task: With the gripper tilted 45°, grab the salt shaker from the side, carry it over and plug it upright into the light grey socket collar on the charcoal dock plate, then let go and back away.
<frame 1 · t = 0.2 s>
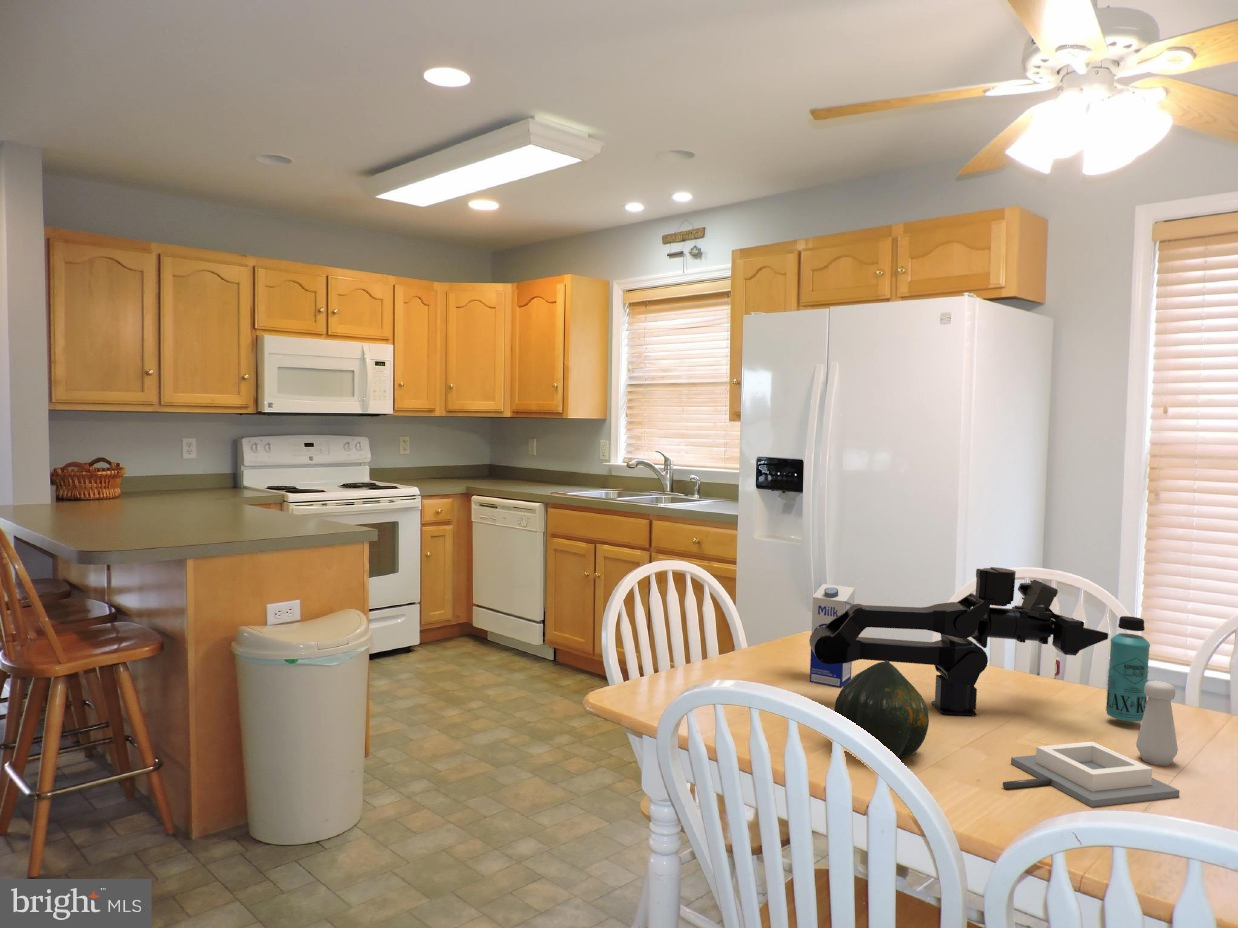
hand: (1095, 630, 159), 17 cm above the table, tool horizontal, fingers open, 9 cm apart
salt shaker: (1155, 762, 139), on the table
beverage bottle: (1125, 725, 157), on the table
dock: (1091, 779, 130), on the table
squash: (879, 750, 140), on the table
milk carton: (830, 681, 178), on the table
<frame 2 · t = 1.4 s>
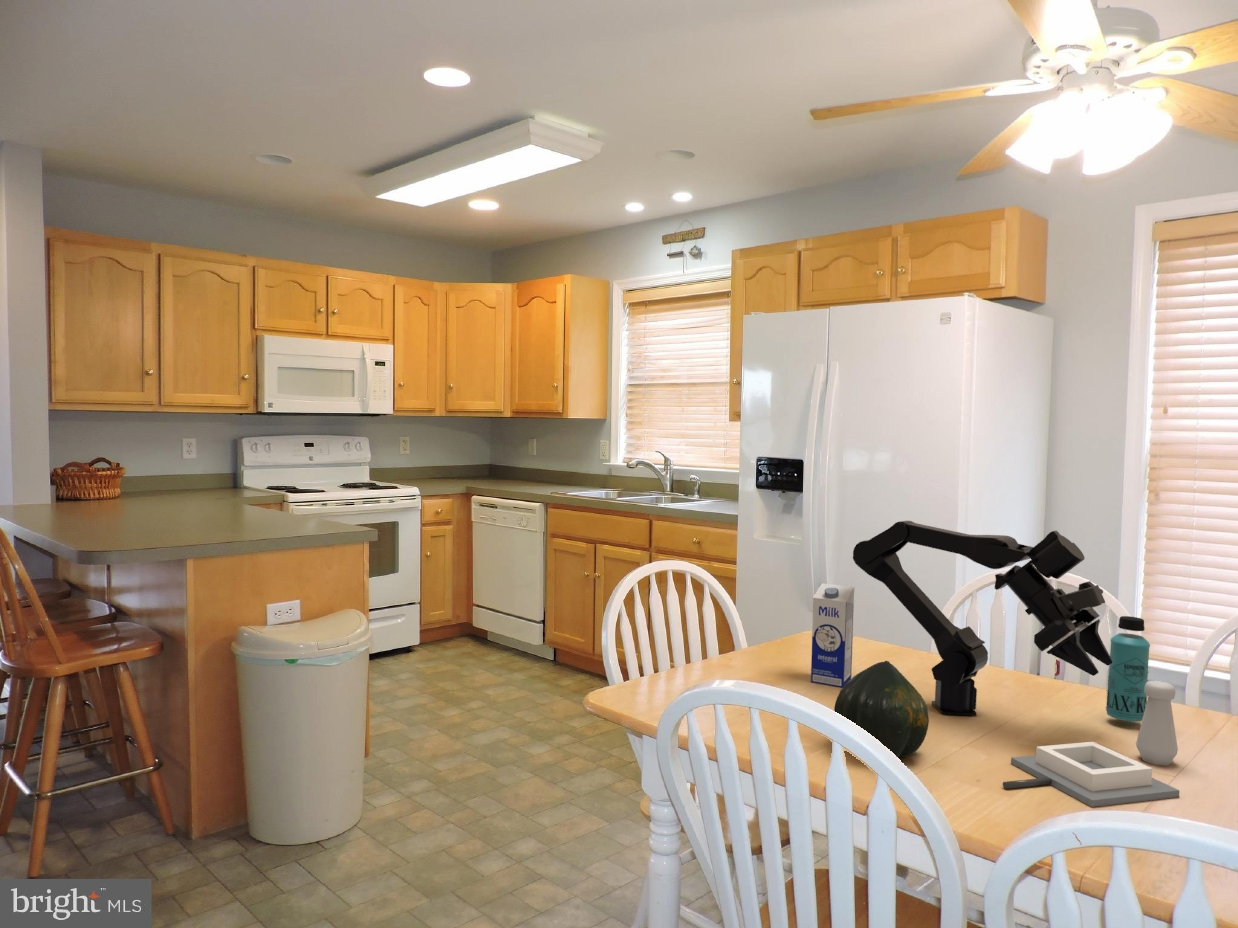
hand: (1103, 668, 144), 13 cm above the table, tool tilted 45°, fingers open, 9 cm apart
nothing on the table moved.
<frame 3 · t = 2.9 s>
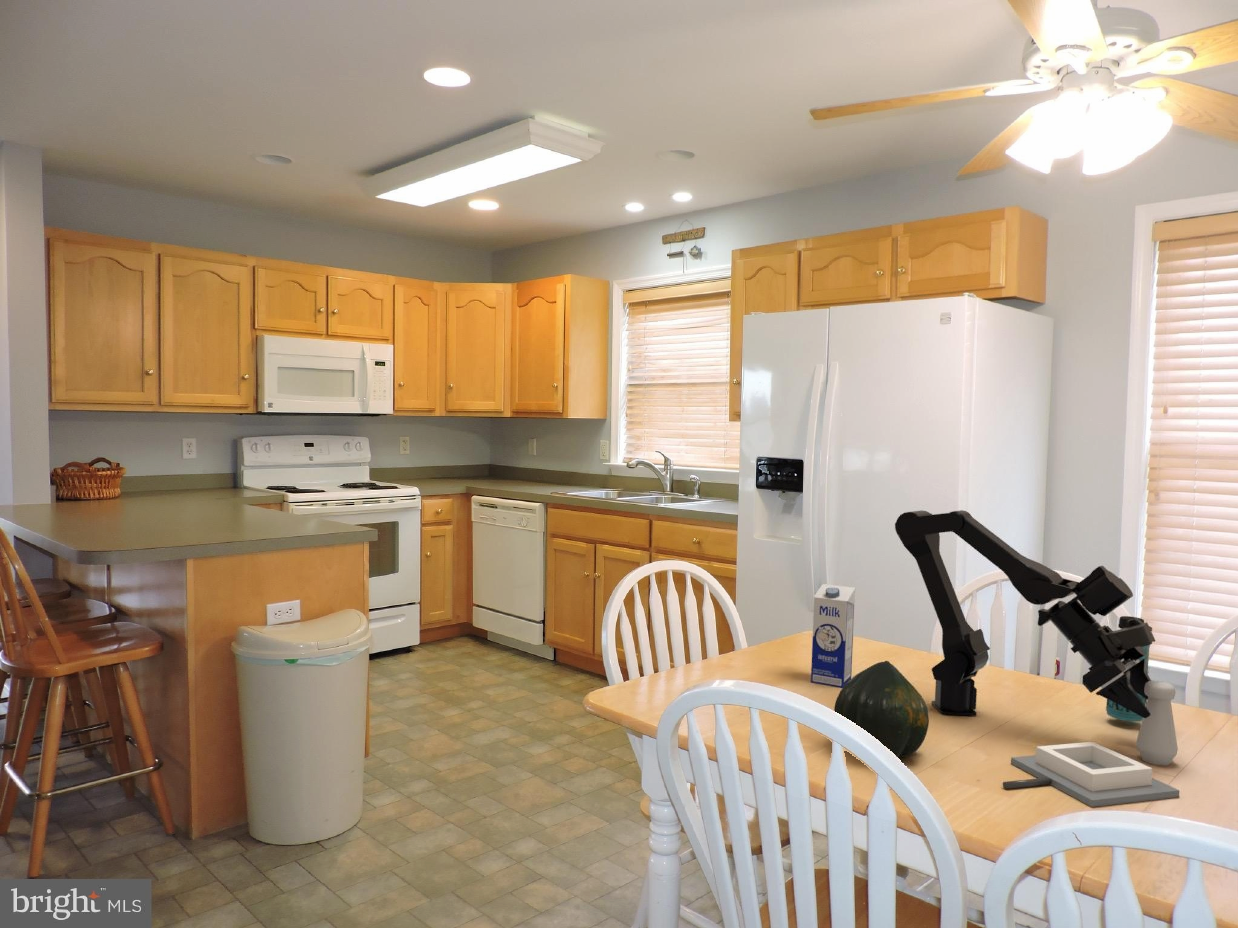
hand: (1154, 710, 139), 8 cm above the table, tool tilted 45°, fingers open, 9 cm apart
nothing on the table moved.
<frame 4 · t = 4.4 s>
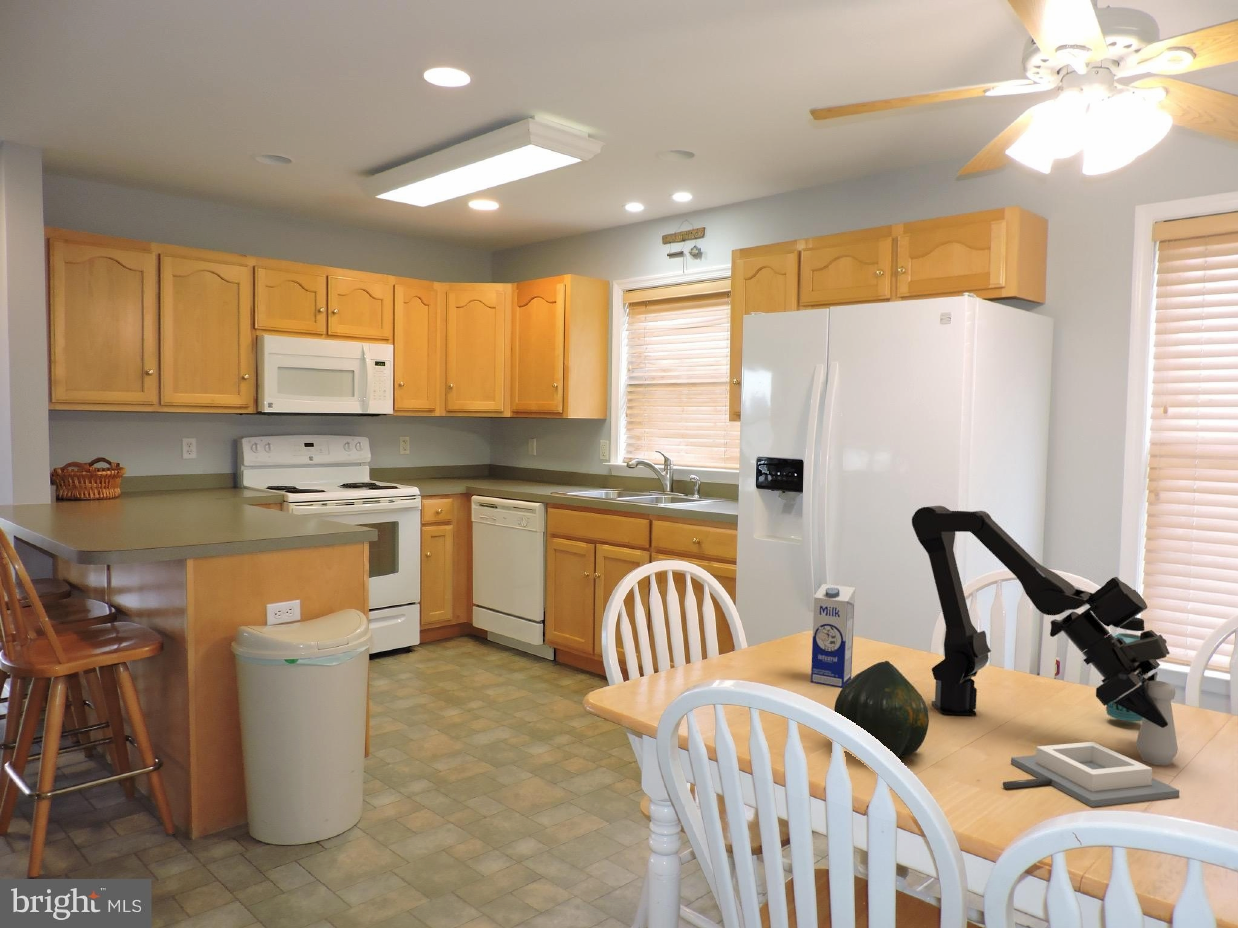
hand: (1168, 723, 138), 7 cm above the table, tool tilted 45°, fingers closed on salt shaker, 3 cm apart
salt shaker: (1155, 761, 139), on the table, touching gripper
everything else where it was.
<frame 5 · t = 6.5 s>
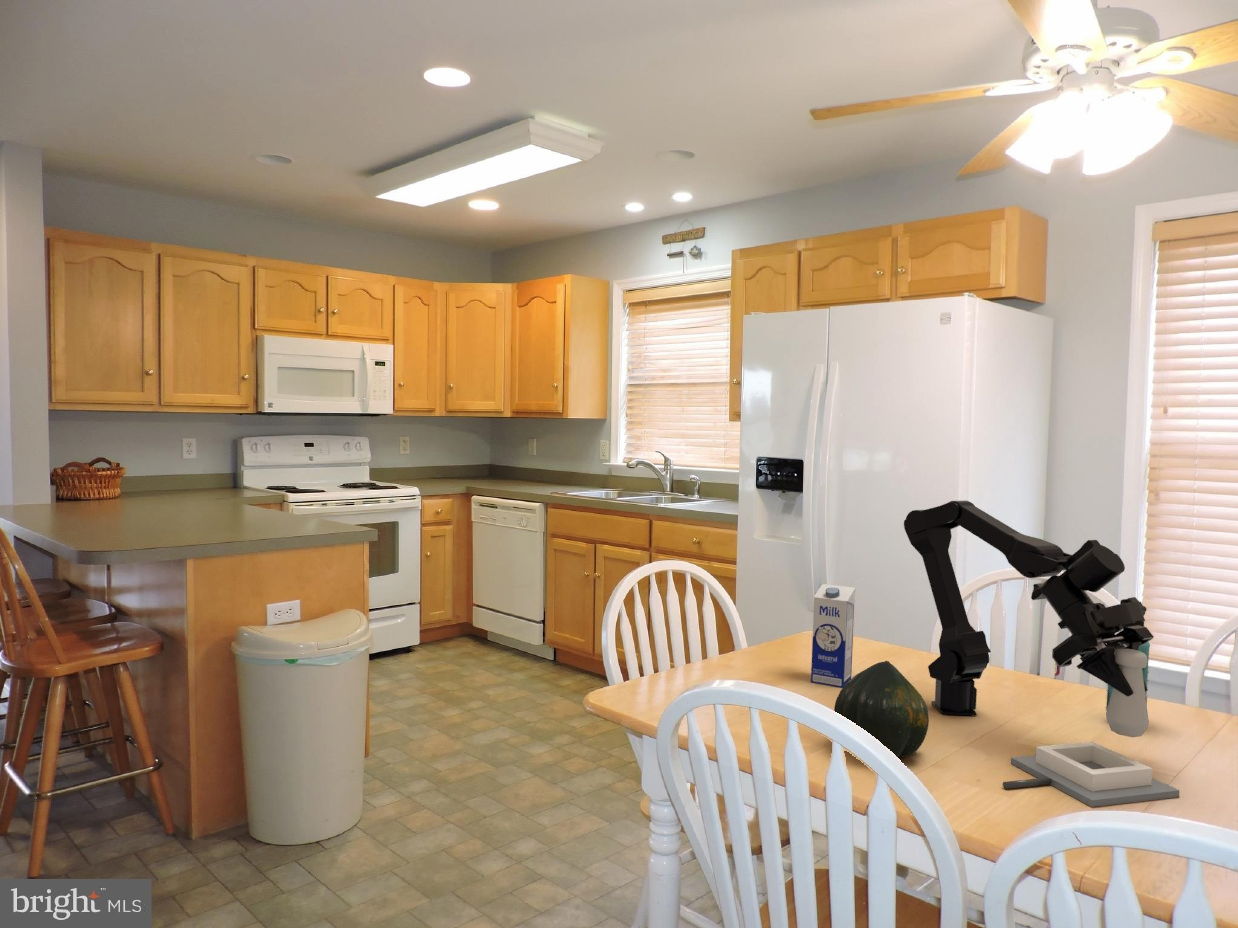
hand: (1137, 693, 131), 13 cm above the table, tool tilted 45°, fingers closed on salt shaker, 3 cm apart
salt shaker: (1125, 733, 133), point 6 cm above the table, touching gripper
everything else where it was.
when the fingers open (8 cm above the table, at t = 8.6 s): salt shaker stays where it is, resting on dock.
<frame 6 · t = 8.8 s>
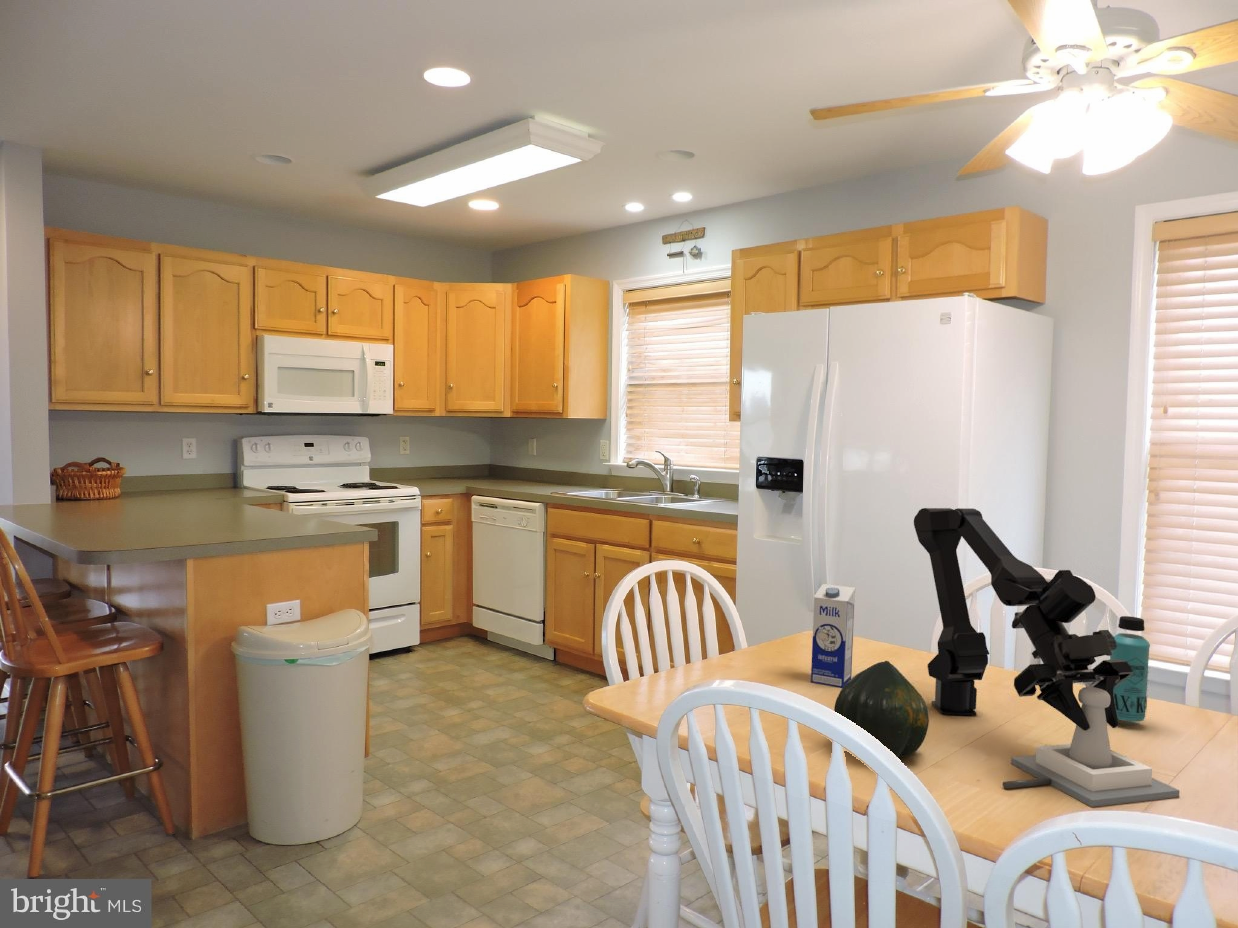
hand: (1101, 728, 129), 9 cm above the table, tool tilted 45°, fingers open, 5 cm apart
salt shaker: (1089, 773, 131), point 1 cm above the table, touching dock
everything else where it was.
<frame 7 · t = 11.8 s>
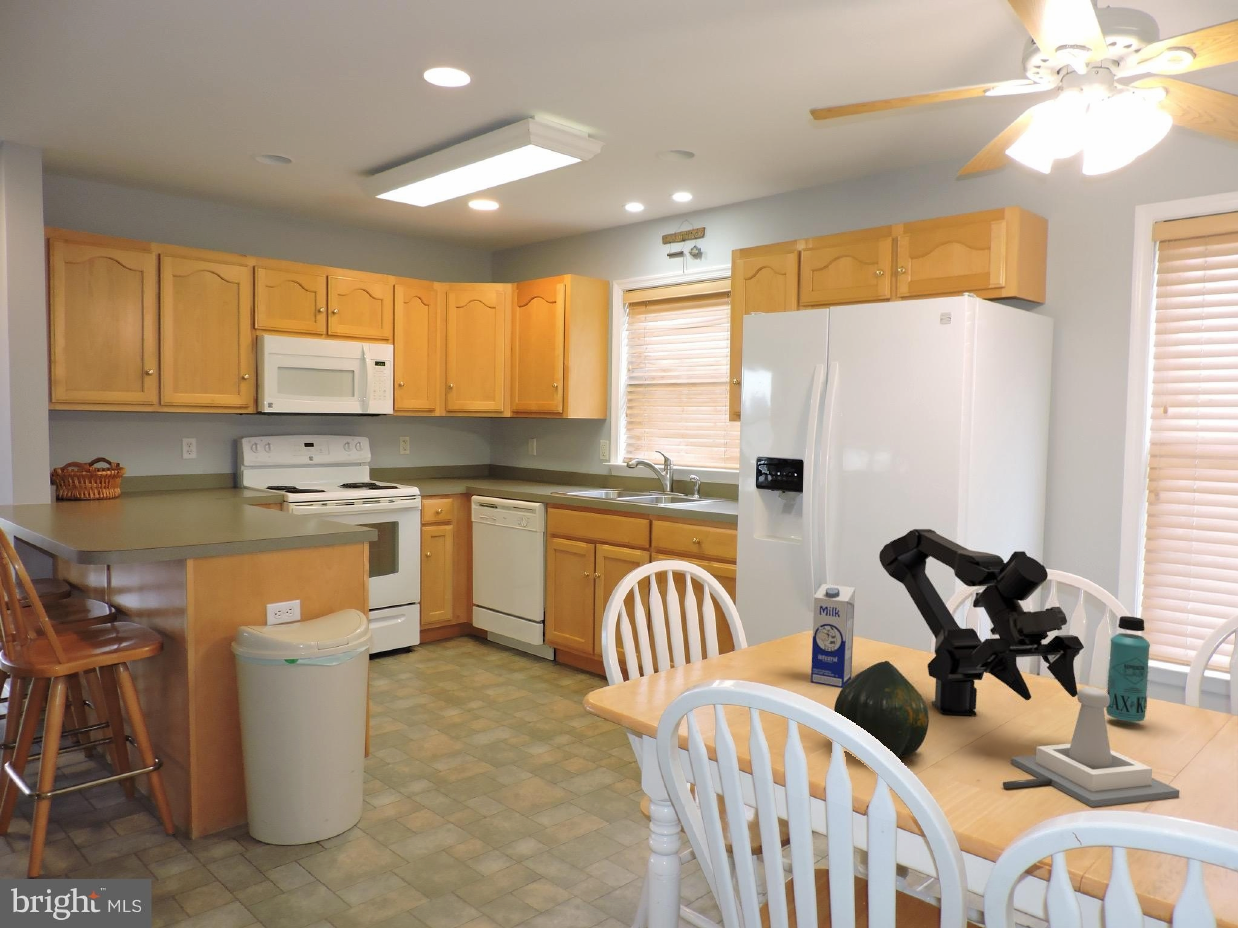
hand: (1052, 697, 138), 10 cm above the table, tool tilted 45°, fingers open, 9 cm apart
nothing on the table moved.
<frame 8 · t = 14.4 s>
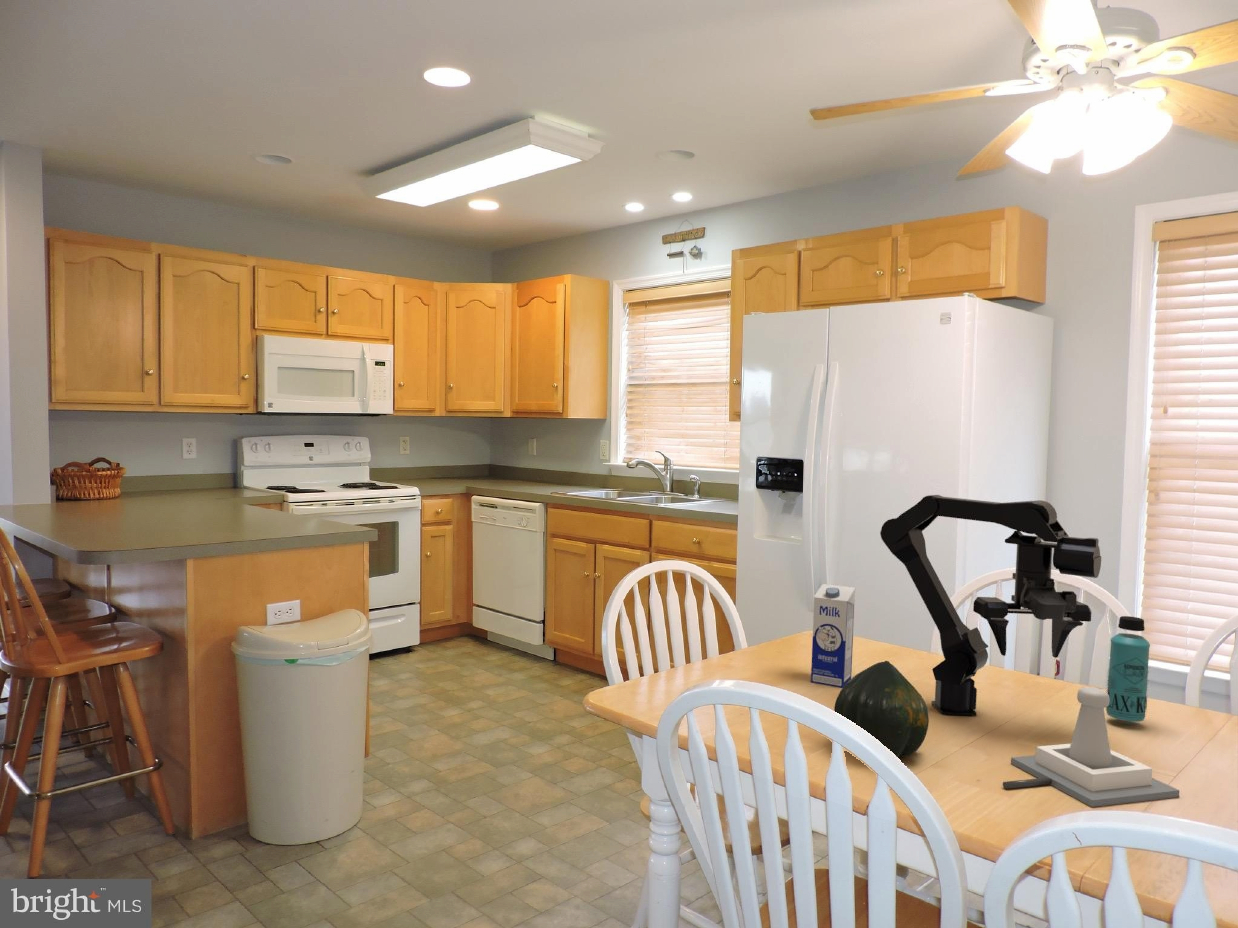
hand: (1029, 656, 153), 13 cm above the table, tool pointing down, fingers open, 9 cm apart
nothing on the table moved.
at the end: salt shaker 0.4 cm off-centre on the dock, point 0.8 cm above the dock's base; salt shaker tilted 0°; the gripper is holding nothing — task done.
